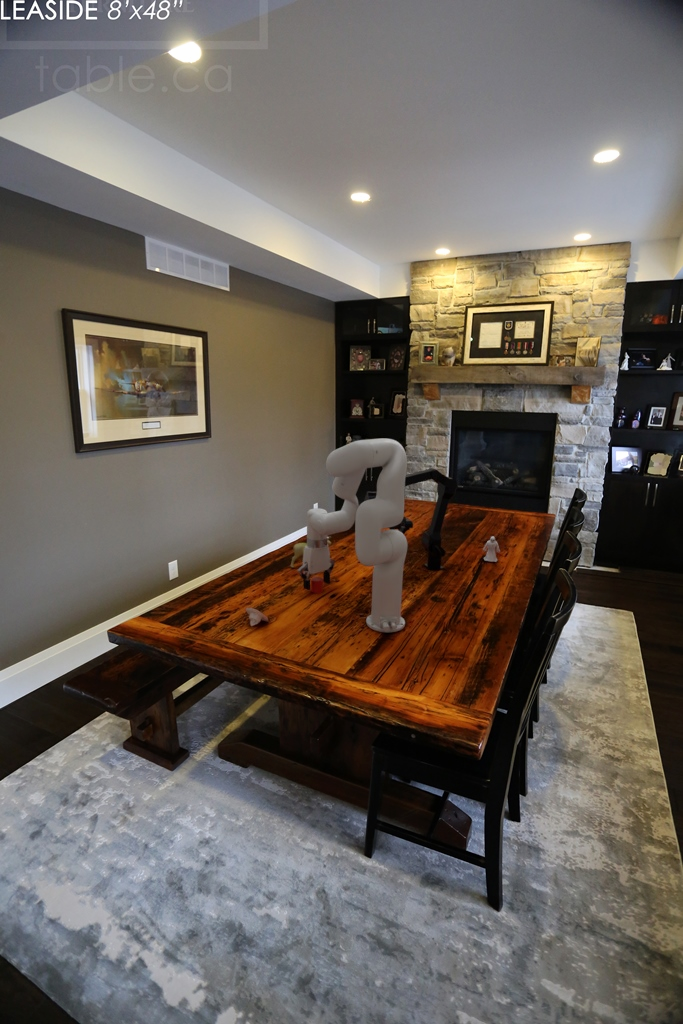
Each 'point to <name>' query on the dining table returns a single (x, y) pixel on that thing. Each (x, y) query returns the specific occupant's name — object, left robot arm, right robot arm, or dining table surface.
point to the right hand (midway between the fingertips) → (388, 544)
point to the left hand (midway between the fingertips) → (316, 585)
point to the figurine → (491, 550)
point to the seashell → (255, 616)
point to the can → (316, 584)
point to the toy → (301, 551)
